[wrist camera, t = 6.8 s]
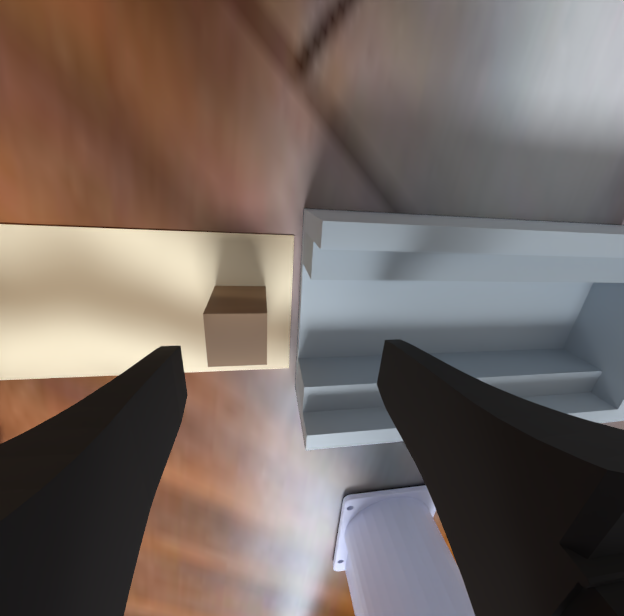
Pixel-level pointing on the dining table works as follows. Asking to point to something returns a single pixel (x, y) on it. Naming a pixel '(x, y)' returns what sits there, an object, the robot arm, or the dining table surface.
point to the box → (456, 313)
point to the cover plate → (141, 299)
